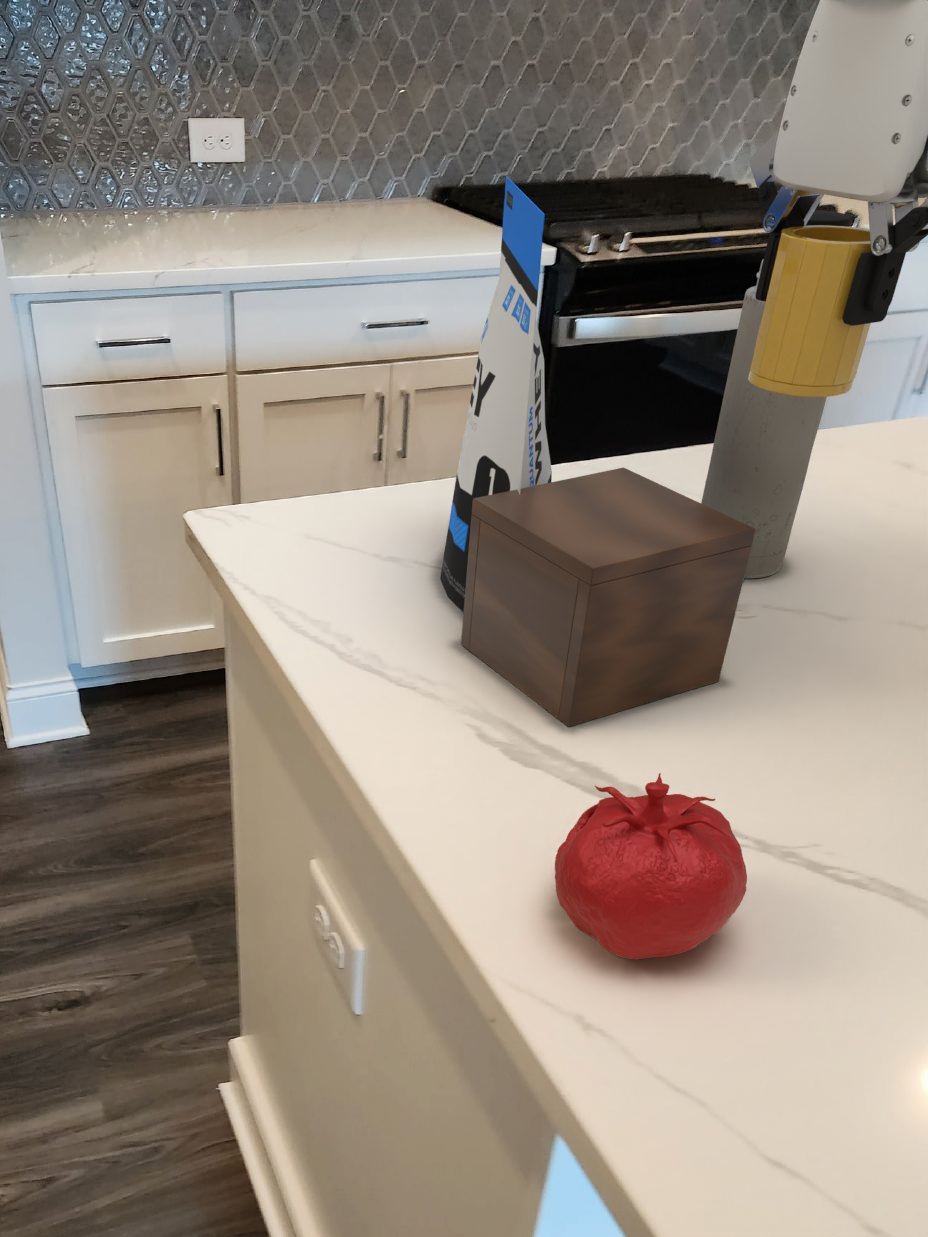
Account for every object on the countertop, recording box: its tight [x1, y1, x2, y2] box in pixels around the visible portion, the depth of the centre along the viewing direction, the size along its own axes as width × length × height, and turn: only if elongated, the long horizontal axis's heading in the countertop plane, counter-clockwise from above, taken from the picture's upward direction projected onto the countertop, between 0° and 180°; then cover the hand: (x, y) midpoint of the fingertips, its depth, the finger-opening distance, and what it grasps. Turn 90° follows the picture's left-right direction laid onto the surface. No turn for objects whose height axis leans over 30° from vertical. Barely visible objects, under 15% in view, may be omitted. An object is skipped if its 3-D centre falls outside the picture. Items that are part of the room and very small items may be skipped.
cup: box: [748, 225, 872, 398], centre depth 72 cm, size 7×7×9 cm
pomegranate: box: [554, 772, 748, 960], centre depth 59 cm, size 10×10×9 cm
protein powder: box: [439, 176, 553, 614], centre depth 89 cm, size 10×24×30 cm, turn 177°
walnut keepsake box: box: [460, 467, 756, 727], centre depth 82 cm, size 14×14×12 cm
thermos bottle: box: [700, 209, 852, 579], centre depth 92 cm, size 8×8×28 cm
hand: (818, 307), depth 72 cm, fingers closed on cup, 6 cm apart
